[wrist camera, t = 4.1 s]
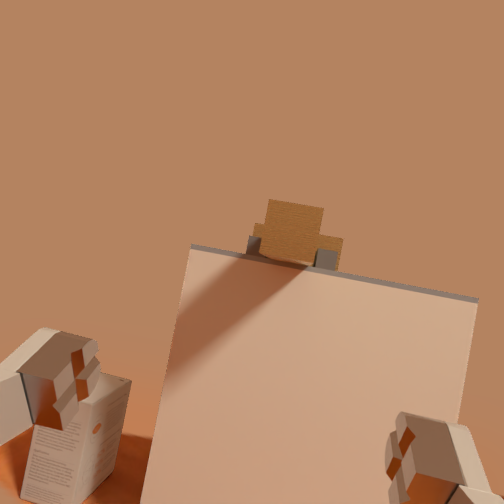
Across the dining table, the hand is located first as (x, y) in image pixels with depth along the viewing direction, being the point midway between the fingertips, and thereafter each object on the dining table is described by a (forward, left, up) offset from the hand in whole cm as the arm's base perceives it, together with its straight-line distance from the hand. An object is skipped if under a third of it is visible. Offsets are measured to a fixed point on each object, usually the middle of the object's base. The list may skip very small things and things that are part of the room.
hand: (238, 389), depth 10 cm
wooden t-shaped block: (0, -23, +4) cm, 24 cm away
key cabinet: (-3, -28, -22) cm, 36 cm away
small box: (+18, -27, -23) cm, 40 cm away
